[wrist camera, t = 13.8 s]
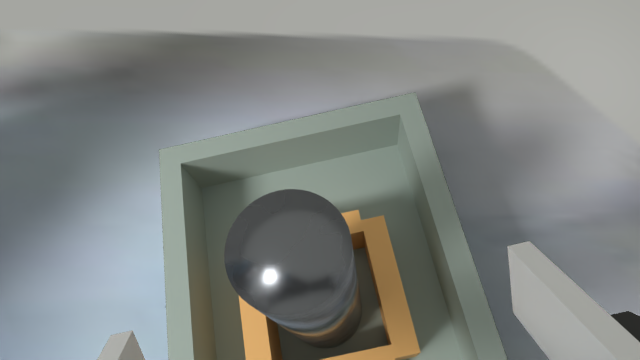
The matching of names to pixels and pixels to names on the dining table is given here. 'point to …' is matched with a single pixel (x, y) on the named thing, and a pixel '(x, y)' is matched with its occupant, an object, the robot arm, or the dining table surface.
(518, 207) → the dining table surface
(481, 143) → the dining table surface
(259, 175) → the walled box
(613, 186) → the dining table surface
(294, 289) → the peg
